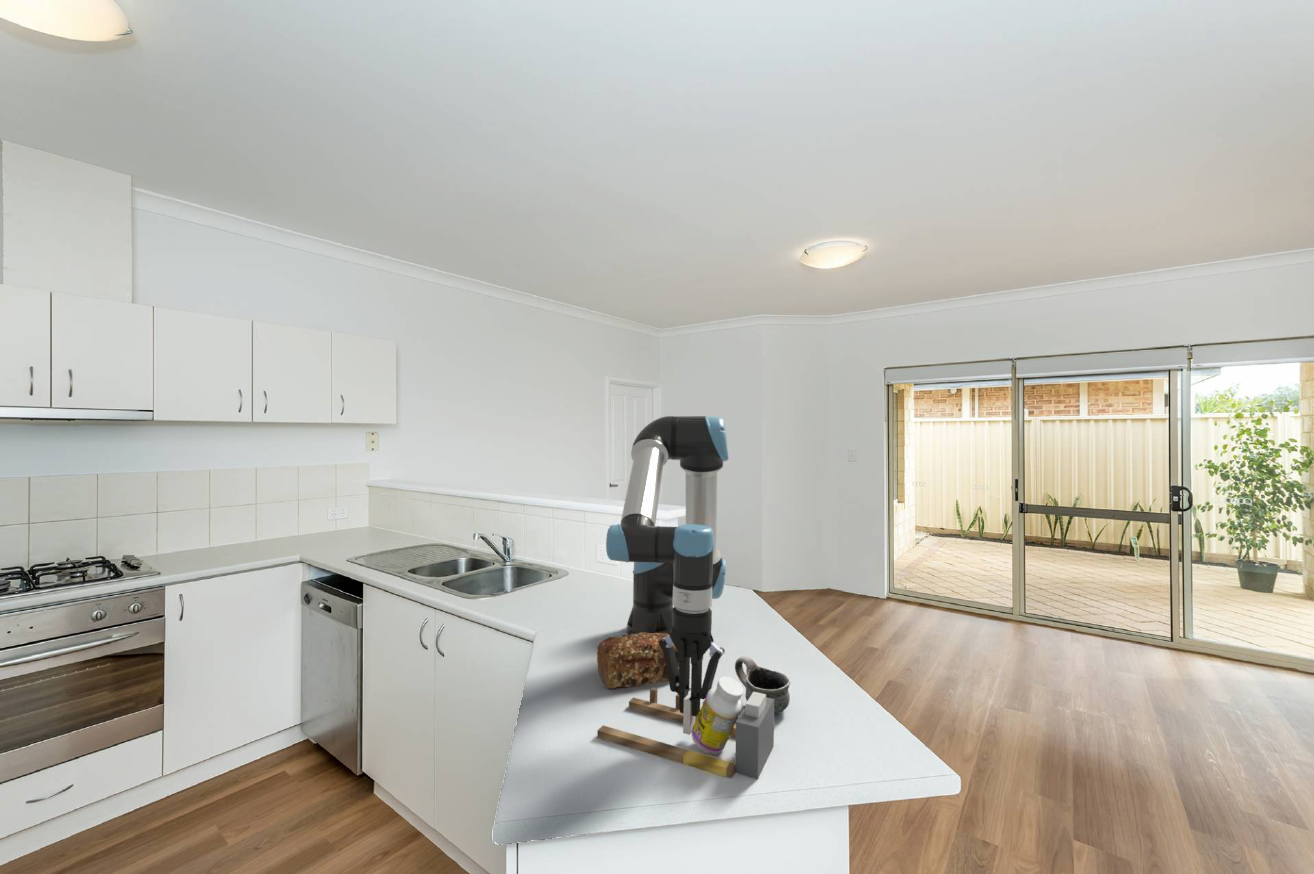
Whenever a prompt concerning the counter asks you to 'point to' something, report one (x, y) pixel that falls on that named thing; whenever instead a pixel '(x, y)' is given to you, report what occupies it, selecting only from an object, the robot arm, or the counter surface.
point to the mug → (764, 682)
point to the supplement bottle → (718, 716)
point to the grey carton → (754, 735)
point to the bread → (632, 660)
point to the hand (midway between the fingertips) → (689, 730)
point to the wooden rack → (662, 748)
